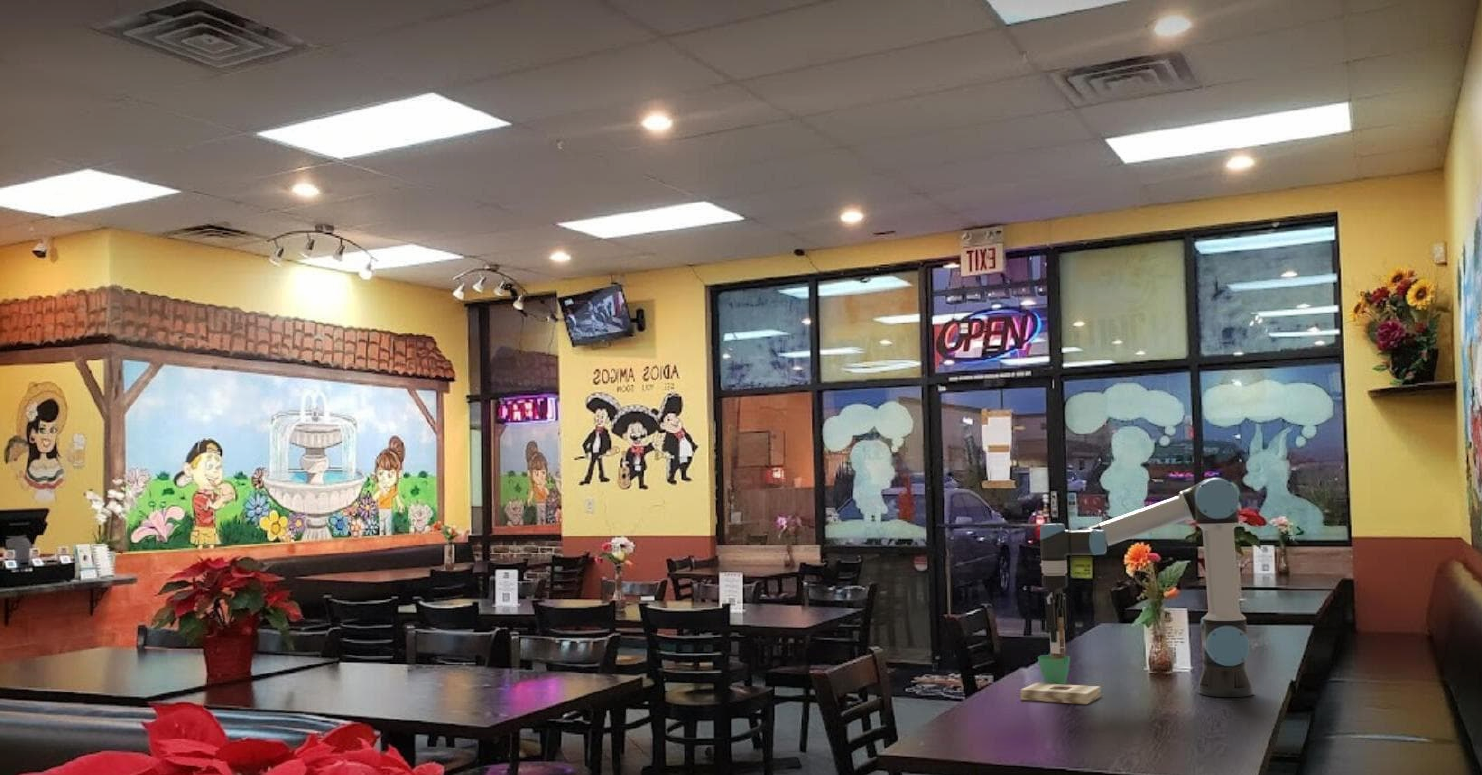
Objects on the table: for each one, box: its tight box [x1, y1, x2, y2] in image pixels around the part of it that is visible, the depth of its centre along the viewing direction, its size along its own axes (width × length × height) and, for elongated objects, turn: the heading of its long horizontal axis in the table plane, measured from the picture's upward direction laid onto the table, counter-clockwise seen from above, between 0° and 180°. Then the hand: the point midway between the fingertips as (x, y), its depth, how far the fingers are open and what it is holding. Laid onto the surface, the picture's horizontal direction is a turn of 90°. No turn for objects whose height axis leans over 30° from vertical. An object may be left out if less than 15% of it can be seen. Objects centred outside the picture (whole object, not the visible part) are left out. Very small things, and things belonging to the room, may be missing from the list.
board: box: [1020, 682, 1102, 705], centre depth 362 cm, size 20×14×3 cm
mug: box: [1037, 654, 1071, 684], centre depth 381 cm, size 15×10×10 cm
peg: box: [1050, 617, 1066, 659], centre depth 364 cm, size 4×4×12 cm
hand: (1057, 652), depth 363 cm, fingers closed on peg, 4 cm apart
